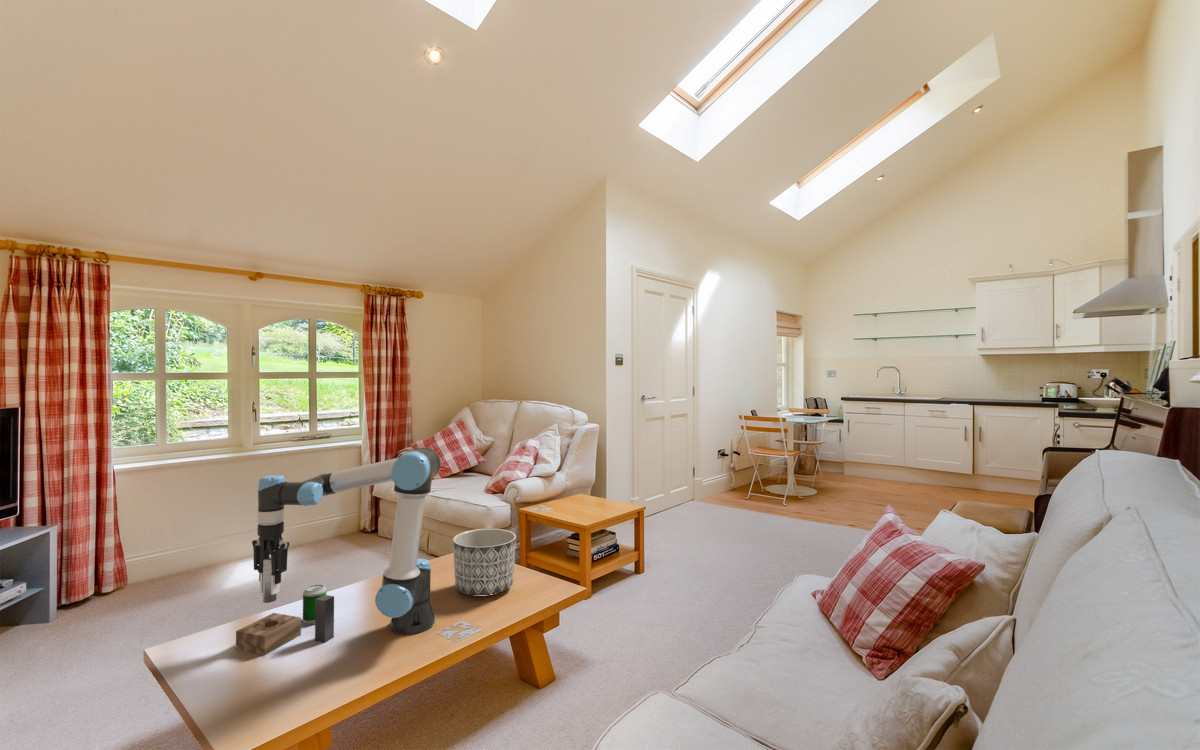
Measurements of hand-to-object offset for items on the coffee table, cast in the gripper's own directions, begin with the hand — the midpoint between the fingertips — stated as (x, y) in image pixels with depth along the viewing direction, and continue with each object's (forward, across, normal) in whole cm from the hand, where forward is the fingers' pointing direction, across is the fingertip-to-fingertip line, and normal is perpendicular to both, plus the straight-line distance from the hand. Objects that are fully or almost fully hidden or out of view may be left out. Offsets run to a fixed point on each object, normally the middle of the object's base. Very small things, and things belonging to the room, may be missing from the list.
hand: (269, 592), depth 177 cm
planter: (+17, -47, -61) cm, 79 cm away
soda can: (+17, -2, -17) cm, 24 cm away
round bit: (+3, 0, 0) cm, 3 cm away
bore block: (+17, 0, 0) cm, 17 cm away
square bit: (+17, -16, -7) cm, 24 cm away
